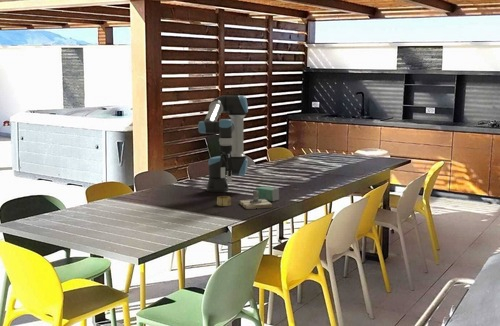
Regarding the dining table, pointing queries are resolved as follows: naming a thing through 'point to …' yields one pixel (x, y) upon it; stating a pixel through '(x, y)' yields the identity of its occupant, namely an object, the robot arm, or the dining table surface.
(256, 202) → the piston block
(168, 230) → the dining table surface
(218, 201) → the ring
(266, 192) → the box
